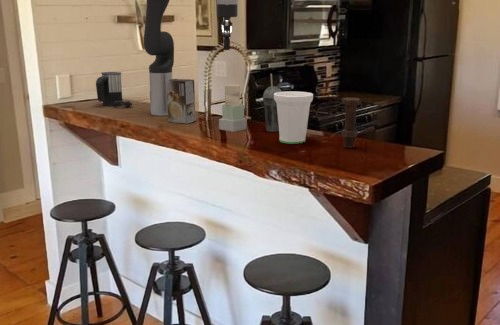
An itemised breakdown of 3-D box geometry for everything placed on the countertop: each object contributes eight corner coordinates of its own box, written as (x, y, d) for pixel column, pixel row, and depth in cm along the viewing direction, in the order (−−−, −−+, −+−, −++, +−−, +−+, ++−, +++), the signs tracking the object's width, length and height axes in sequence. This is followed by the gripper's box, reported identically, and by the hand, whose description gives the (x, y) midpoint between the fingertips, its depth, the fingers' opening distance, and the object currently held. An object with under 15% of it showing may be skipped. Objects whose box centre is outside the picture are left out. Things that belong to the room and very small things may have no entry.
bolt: (353, 150, 159) (355, 100, 155) (337, 148, 162) (339, 99, 158) (360, 146, 164) (362, 98, 160) (344, 144, 167) (347, 96, 163)
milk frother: (107, 103, 249) (105, 71, 245) (140, 104, 246) (138, 71, 242) (94, 108, 235) (92, 74, 231) (128, 109, 233) (126, 74, 229)
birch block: (225, 103, 190) (225, 84, 188) (238, 103, 190) (238, 84, 188) (225, 105, 185) (225, 85, 183) (239, 105, 186) (239, 85, 184)
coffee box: (196, 121, 204) (195, 79, 200) (187, 124, 199) (185, 81, 195) (176, 119, 208) (175, 78, 204) (167, 121, 203) (165, 79, 199)
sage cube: (222, 118, 189) (222, 104, 188) (234, 116, 193) (233, 103, 191) (232, 120, 185) (232, 106, 184) (244, 118, 189) (244, 104, 188)
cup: (319, 141, 171) (321, 93, 167) (294, 147, 163) (295, 97, 159) (290, 135, 180) (291, 90, 176) (265, 141, 171) (265, 93, 167)
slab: (219, 129, 190) (218, 118, 189) (232, 127, 195) (232, 116, 194) (233, 132, 185) (233, 121, 184) (246, 129, 190) (246, 118, 189)
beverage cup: (287, 130, 188) (288, 73, 183) (273, 133, 183) (274, 74, 178) (271, 127, 193) (272, 72, 188) (258, 130, 188) (258, 73, 182)
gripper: (217, 3, 198) (217, 47, 202) (216, 2, 184) (216, 50, 189) (237, 3, 198) (236, 48, 203) (237, 3, 184) (237, 50, 189)
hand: (226, 49), depth 196 cm, fingers open, 8 cm apart
